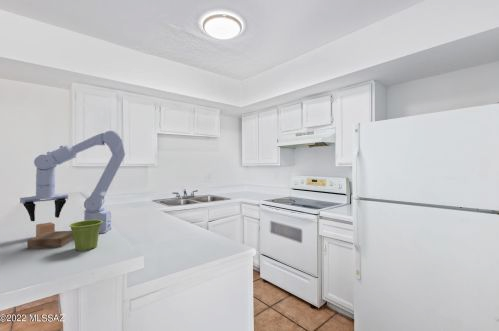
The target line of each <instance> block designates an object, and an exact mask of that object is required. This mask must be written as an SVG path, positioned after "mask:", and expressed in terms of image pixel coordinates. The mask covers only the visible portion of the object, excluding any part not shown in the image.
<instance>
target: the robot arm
mask: <svg viewBox="0 0 499 331" xmlns="http://www.w3.org/2000/svg"><path fill="white" fill-rule="evenodd" d="M106 145H107V147H108V148H109V151H110V152H111V156H110V159H109V161H108V163H107V165H106V167H105V168H104V171H103V172H102V174H101V176H100V177H99V180H98V182H97V183H96V186H95V187H94V189H93V191H92V192H91V194H90V195H89V197H87V198H86V199H85V200H84V202H83V207H84V211H83V214H84V220H83V221H87V220H101V221H102V223H101V227H100V229H99V234H103V233H104V234H105V233H107V232H108V231H110V230H111V229H112V212H111V210H109V209H107V210H105V207H104V206H103V205H104V204H105V196H106V194H107V192H108V190H109V188H110V186H111V184H112V182H113V180H114V178H115V176H116V174H117V172H118V170H119V168H120V166H121V164H122V163H123V161H124V158H125V156H126V152H125V148H124V143H123V140H122V138H121V136H120V135H119V133H118V132H116V131H115V130H108V131H105V132H101V133H99V134H96V135H93V136H92V137H89V138H87V139H85V140H83V141H80V142H79V143H76V144H75V145H73V146H70V145H61V146H59V147H58V148H56V149H54V150H52V151H47V152H46V154H40V155H38V156H36V157H35V158H34V160H33V164H34V166H35V167H36V170H35V171H36V174H35V196H34V195H33V196H27V197H25V196H24V197H19V203H20V204H22V205H23V206H24V208H25V209H26V212H28V216H29V218H30V222H35V220H36V206H37V204H35V203H36V202H49V201H54V216H55V218H56V219H58V218H60V215H61V212H62V210H63V208H64V206H65V204H66V202H67V200H69V194H67V193H65V194H56V167H57V166H59V165H62V164H63V163H66V162H69V161H70V160H73V159H75V158H76V156H77V154H78V153H80V152H83V151H86V150H88V149H90V148H93V147H95V146H106Z"/></svg>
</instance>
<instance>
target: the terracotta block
mask: <svg viewBox="0 0 499 331" xmlns="http://www.w3.org/2000/svg"><path fill="white" fill-rule="evenodd" d="M55 227H56V225H55V223H54V222H51V221H50V222H43V223H37V224H35V237H36V236H38V235H40V234H43V233H45V232H55V231H56V230H55V229H56V228H55Z"/></svg>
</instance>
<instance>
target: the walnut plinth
mask: <svg viewBox="0 0 499 331" xmlns="http://www.w3.org/2000/svg"><path fill="white" fill-rule="evenodd" d="M72 241H74V237H73V232H72V230H60V231H58V230H57V231H56V230H55V232H45V233H43V234H40V235H38V236H36V235H35V236H34V237H31V238H30V239H27V244H26V246H27V248H26V249H27V250H31V249H47V248H62V247H63V246H65V245H67V244H68V243H71V242H72Z"/></svg>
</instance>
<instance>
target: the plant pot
mask: <svg viewBox="0 0 499 331" xmlns="http://www.w3.org/2000/svg"><path fill="white" fill-rule="evenodd" d="M101 223H102V221H101V220H87V221H84V220H82V221H81V220H80V221H77V222H76V221H75V222H71V223H69V227H70V231H72V232H73V237H74V240H73V241H74V242H73V243H74V248H75V251H80V252H84V251H89V250H92V249H95V248H97V247H98V242H99V234H100V233H99V229H100V227H101Z"/></svg>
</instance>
